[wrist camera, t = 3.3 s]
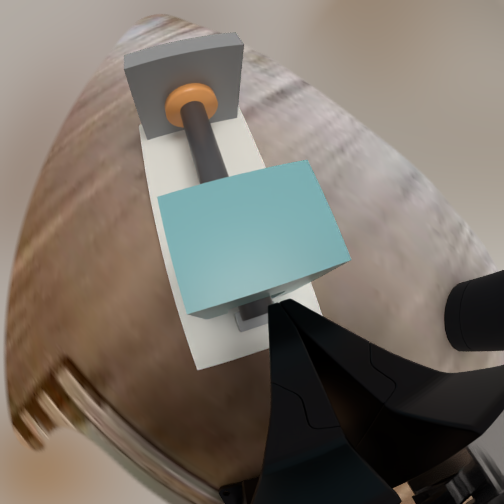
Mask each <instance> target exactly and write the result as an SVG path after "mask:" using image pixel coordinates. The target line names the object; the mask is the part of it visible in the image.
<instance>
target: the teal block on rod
mask: <svg viewBox="0 0 504 504" xmlns="http://www.w3.org/2000/svg"><path fill="white" fill-rule="evenodd" d="M157 199H158V204H159V209H160V213H161V218H162V222H163V227H164V231H165V235H166V240H167V244H168V248H169V252H170V256H171V260H172V263H173V267H174V271H175V275H176V278H177V282H178V285H179V289H180V292H181V296H182V299H183V303H184V306H185V309H186V313H187V314H188V315H191V316H195V317H199V318H203V319H210V318H214V317H217V316H220V315H223V314H227V313H228V309H231V308H234V307H238V306H241V305H244V304H247V303H250V302H253V301H256V300H259V299H262V298H265V297H268V296H271V298H272V299H273V298H276V297H279V296H281V295H284V294H287V293H290V292H292V291H294V290H296V289H298V288H300V287H302V286H304V285H306V284H308V283H310V282H312V281H313V280H315V279H317V278H319V277H321V276H323V275H325V274H327V273H328V272H330V271H332V270H334V269H336V268H338V267H339V266H341V265H343V264H345V263H347V262H348V261H350V260H351V258H350V255H349V253H348V250H347V248H346V245H345V243H344V240H343V238H342V235H341V233H340V230H339V228H338V226H337V223H336V221H335V219H334V216H333V214H332V212H331V209H330V207H329V205H328V203H327V200H326V198H325V196H324V194H323V192H322V189H321V187H320V185H319V183H318V181H317V179H316V177H315V175H314V172H313V170H312V168H311V166H310V164H309V162H308V160H303V161H298V162H293V163H288V164H283V165H278V166H273V167H268V168H264V169H259V170H255V171H251V172H246V173H242V174H238V175H234V176H230V177H226V178H222V179H218V180H214V181H210V182H207V183H203V184H199V185H196V186H192V187H189V188H185V189H182V190H178V191H175V192H171V193H168V194H165V195H162V196H158V197H157Z"/></svg>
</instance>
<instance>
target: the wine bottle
mask: <svg viewBox="0 0 504 504" xmlns="http://www.w3.org/2000/svg"><path fill="white" fill-rule="evenodd" d="M445 327H446V332H447V336H448V339H449V341H450V343H451V344H452V346H453V347H454V348H455V349H457V350H458V351H504V270H502V271H499V272H496V273H493V274H490V275H486V276H483V277H480V278H476V279H473V280H469V281H466V282H462V283H459V284H458V285H457V286H455V287H454V288H453V290H452V292H451V293H450V295H449V298H448V301H447V304H446V311H445Z"/></svg>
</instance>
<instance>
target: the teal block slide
mask: <svg viewBox="0 0 504 504" xmlns="http://www.w3.org/2000/svg"><path fill="white" fill-rule="evenodd" d="M243 49H244V44H243V42H242V41H241V39H240V38H239V37H238V35H237V34H236V33H235V32H234V33H224V34H216V35H208V36H202V37H196V38H190V39H185V40H180V41H175V42H171V43H166V44H162V45H158V46H154V47H150V48H147V49H143V50H140V51H136V52H133V53H130V54H127V55H124V71H125V74H126V77H127V81H128V84H129V87H130V90H131V93H132V97H133V100H134V103H135V106H136V109H137V112H138V115H139V118H140V120H141V123H142V124H141V125H139V130H140V138H141V145H142V152H143V159H144V165H145V171H146V177H147V183H148V188H149V194H150V199H151V204H152V209H153V214H154V219H155V223H156V228H157V233H158V237H159V241H160V246H161V250H162V254H163V258H164V262H165V266H166V270H167V274H168V277H169V281H170V285H171V288H172V292H173V296H174V299H175V303H176V306H177V309H178V313H179V316H180V319H181V323H182V326H183V329H184V332H185V335H186V338H187V341H188V344H189V347H190V350H191V353H192V356H193V359H194V362H195V365H196V368H197V370H201V369H205V368H208V367H212V366H215V365H218V364H222V363H225V362H228V361H231V360H235V359H238V358H241V357H244V356H247V355H250V354H253V353H256V352H259V351H262V350H265V349H268V348H269V332H268V310H267V307H268V305H270V304H274V303H277V302H278V303H280V301H283V300H286V299H293V300H295V301H296V302H298V303H300V304H302V305H304V306H305V307H307V308H309V309H311V310H313V311H314V312H316V313H318V314H320V315H322V313H321V310H320V307H319V304H318V301H317V298H316V296H315V293H314V290H313V287H312V284H311V282H310V283H308V284H306V285H304V286H302V287H300V288H298V289H296V290H294V291H292V292H290V293H287V294H284V295H281V296H279V297H276V298H273V299H272V298H271V296H268V297H265V298H262V299H259V300H256V301H253V302H250V303H247V304H244V305H241V306H238V307H234V308H231V309H228V313H227V314H223V315H220V316H217V317H214V318H210V319H203V318H199V317H195V316H191V315H188V314H187V313H186V309H185V306H184V303H183V299H182V296H181V292H180V289H179V285H178V282H177V278H176V275H175V271H174V267H173V263H172V260H171V256H170V252H169V248H168V244H167V240H166V235H165V231H164V227H163V222H162V218H161V213H160V209H159V204H158V199H157V197H158V196H162V195H165V194H168V193H171V192H175V191H178V190H182V189H185V188H189V187H192V186H196V185H199V184H203V183H207V182H210V181H214V180H218V179H222V178H226V177H230V176H234V175H238V174H242V173H246V172H251V171H255V170H259V169H264V168H266V167H265V165H264V162H263V160H262V158H261V155H260V153H259V151H258V148H257V146H256V144H255V141H254V139H253V137H252V135H251V132H250V130H249V128H248V126H247V123H246V121H245V119H244V117H243V115H242V112H241V110H240V108H239V106H238V103H239V91H240V80H241V69H242V59H243Z"/></svg>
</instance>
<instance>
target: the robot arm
mask: <svg viewBox="0 0 504 504" xmlns="http://www.w3.org/2000/svg"><path fill="white" fill-rule="evenodd" d="M267 310H268V332H269V357H270V382H271V385H270V387H271V409H270V419H269V427H268V434H267V441H266V447H265V453H264V459H263V465H262V470H261V474H260V476H259V477H256V478H252V479H249V480H245V481H243V482H240V483H236V484H232V485H227V486H223V487H221V488H220V490H219V494H220V496H221V498H222V500H223V501H224V503H225V504H400V503H401V499H400V497H399V495H398V494H397V493H396V492H395V491H394V490H393V489H392V488H394V487H397V486H399V485H401V484H403V483H405V482H407V483H408V485H409V487H410V488H411V490H412V491H413V493H414V495H413V496H412V498H413V500H414V501H415V503H416V504H462V503H464V502H465V501H466V500H467V499H468V498H469V497H470V496H472V497H473V499H472V500H470V501H469V502H467V503H466V504H504V365H501V366H497V367H492V368H486V369H480V370H474V371H467V372H459V373H445V372H440V371H437V370H434V369H431V368H428V367H426V366H423V365H420V364H418V363H415V362H412V361H410V360H407V359H405V358H402V357H400V356H398V355H395V354H393V353H391V352H389V351H387V350H385V349H383V348H381V347H379V346H377V345H375V344H373V343H369V341H367V340H366V339H364V338H362V337H360V336H358V335H356V334H354V333H353V332H351V331H349V330H347V329H345V328H343V327H342V326H340V325H338V324H336V323H334V322H332V321H331V320H329V319H327V318H325V317H323V316H322V315H320V314H318V313H316V312H314V311H313V310H311V309H309V308H307V307H305V306H304V305H302V304H300V303H298V302H296V301H295V300H293V299H286V300H283V301H280V303H278V302H277V303H274V304H270V305H268V307H267ZM225 491H228V492H229V493H224V492H225Z"/></svg>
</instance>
